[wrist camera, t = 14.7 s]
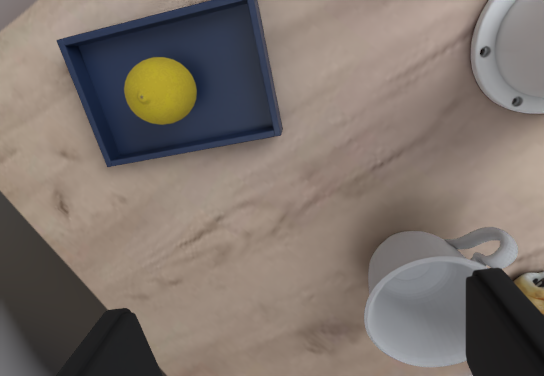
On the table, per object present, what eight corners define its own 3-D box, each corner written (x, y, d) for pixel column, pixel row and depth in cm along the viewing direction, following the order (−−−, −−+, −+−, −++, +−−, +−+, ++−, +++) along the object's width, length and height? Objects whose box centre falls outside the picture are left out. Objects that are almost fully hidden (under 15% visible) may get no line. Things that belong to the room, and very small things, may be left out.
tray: (256, -6, 30) (252, -11, 27) (282, 129, 34) (281, 135, 31) (74, 40, 32) (56, 40, 30) (120, 159, 37) (107, 167, 34)
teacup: (506, 228, 36) (577, 290, 26) (405, 312, 41) (434, 388, 32) (423, 162, 34) (468, 203, 25) (328, 259, 39) (335, 323, 30)
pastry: (558, 331, 40) (582, 358, 37) (496, 333, 41) (514, 360, 38) (572, 265, 37) (600, 288, 33) (505, 269, 38) (526, 292, 34)
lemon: (182, 43, 31) (144, 41, 24) (217, 95, 33) (192, 108, 25) (139, 78, 33) (91, 86, 25) (175, 126, 34) (139, 146, 27)
